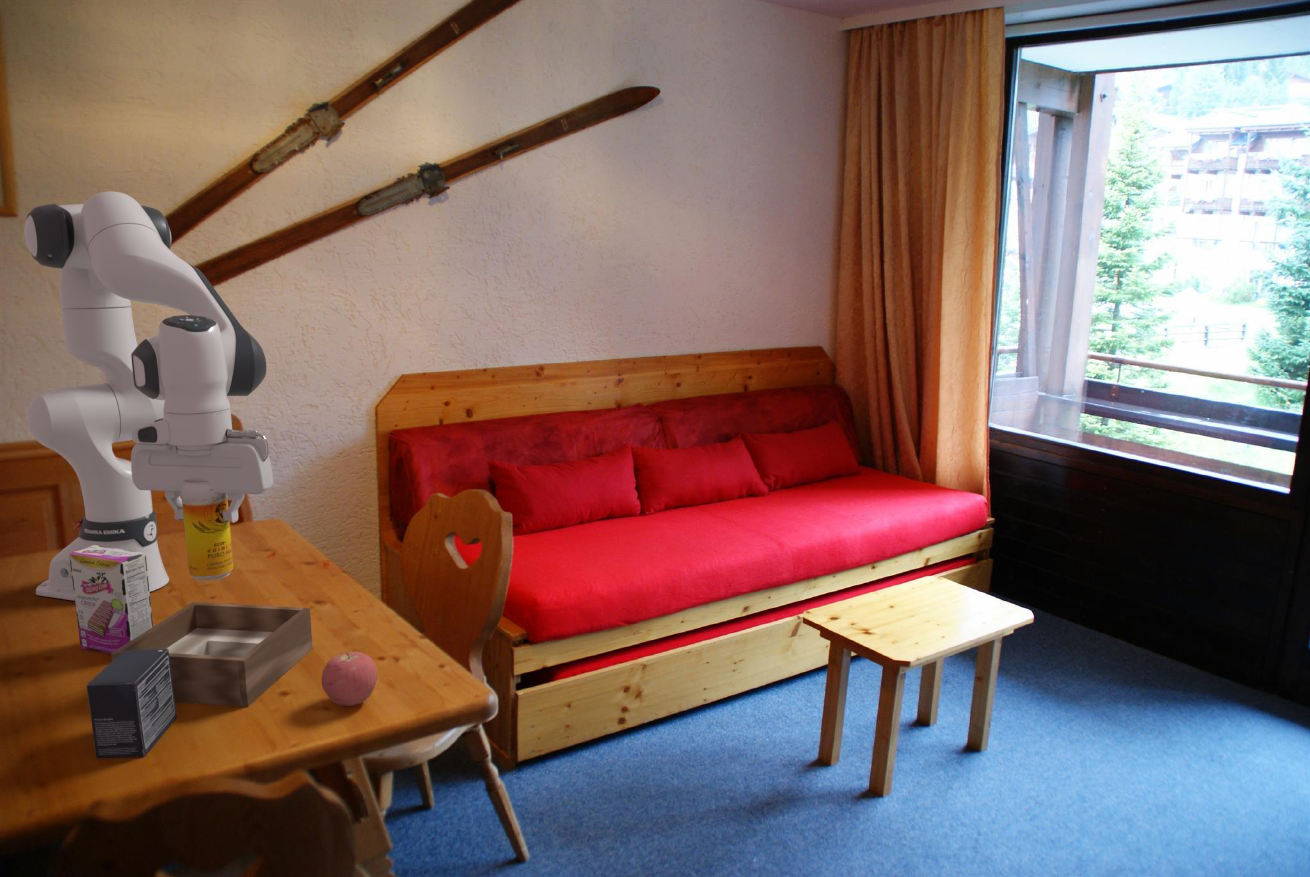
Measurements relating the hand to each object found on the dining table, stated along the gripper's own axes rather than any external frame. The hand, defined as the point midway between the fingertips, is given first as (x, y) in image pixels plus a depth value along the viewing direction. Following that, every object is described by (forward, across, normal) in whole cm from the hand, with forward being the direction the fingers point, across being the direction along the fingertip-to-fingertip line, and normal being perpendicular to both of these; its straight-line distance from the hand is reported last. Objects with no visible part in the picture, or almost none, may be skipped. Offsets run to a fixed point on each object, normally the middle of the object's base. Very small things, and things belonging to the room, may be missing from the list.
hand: (207, 520), depth 142 cm
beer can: (+9, 0, 0) cm, 9 cm away
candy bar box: (+24, +21, -6) cm, 33 cm away
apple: (+24, -24, +7) cm, 35 cm away
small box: (+24, 0, +20) cm, 32 cm away
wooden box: (+24, 0, 0) cm, 24 cm away
